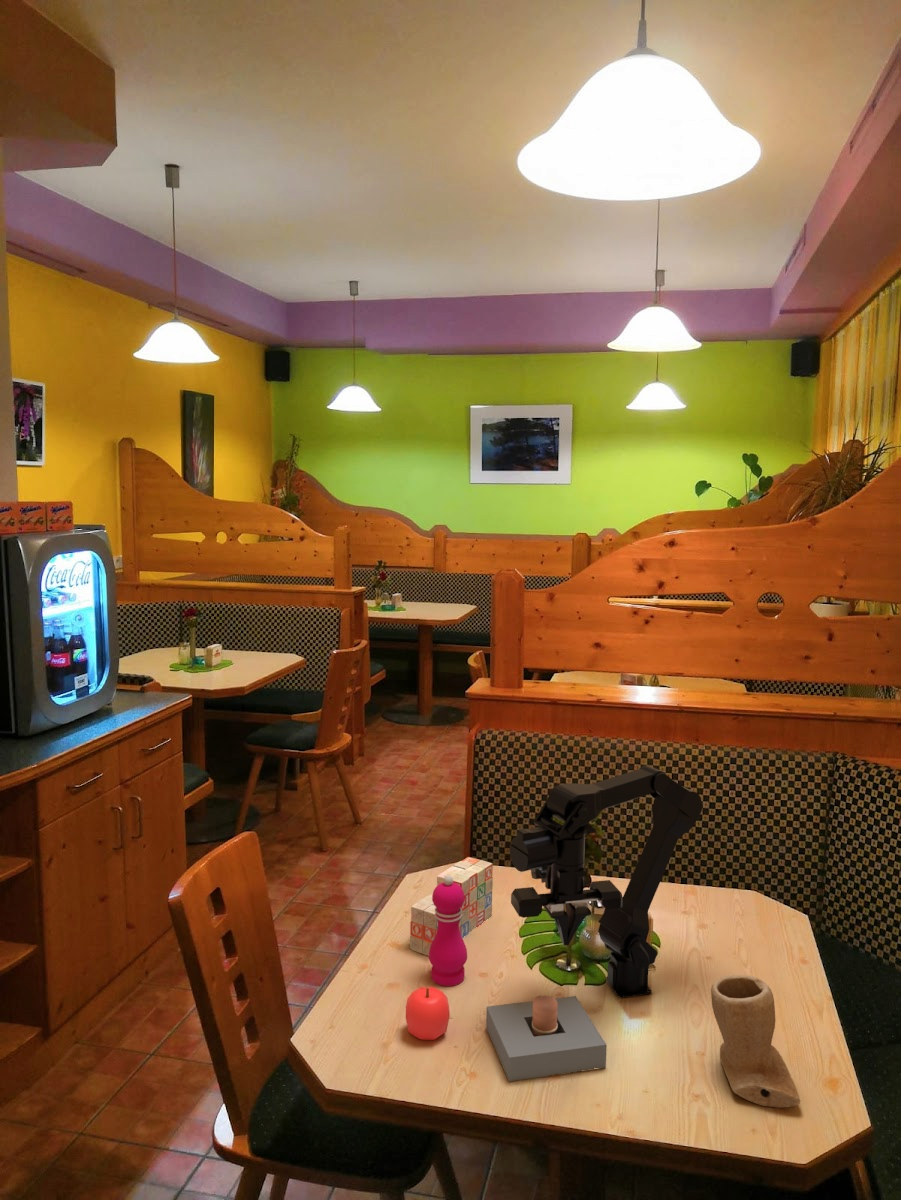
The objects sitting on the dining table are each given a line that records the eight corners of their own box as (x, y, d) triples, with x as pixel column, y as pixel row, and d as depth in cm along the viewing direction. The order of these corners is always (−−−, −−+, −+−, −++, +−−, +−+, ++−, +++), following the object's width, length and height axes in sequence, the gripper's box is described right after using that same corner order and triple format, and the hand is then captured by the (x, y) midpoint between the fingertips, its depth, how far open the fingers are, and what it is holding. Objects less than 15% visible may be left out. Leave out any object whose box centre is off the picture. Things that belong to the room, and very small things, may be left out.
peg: (552, 1038, 151) (553, 993, 150) (560, 1054, 147) (561, 1008, 146) (528, 1041, 150) (529, 996, 149) (535, 1057, 146) (536, 1011, 145)
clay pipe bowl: (702, 1046, 149) (706, 960, 147) (776, 1051, 148) (781, 966, 146) (718, 1108, 134) (723, 1014, 132) (801, 1115, 133) (807, 1020, 131)
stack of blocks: (435, 959, 176) (435, 899, 174) (409, 950, 179) (409, 891, 178) (492, 916, 193) (493, 862, 192) (467, 909, 197) (468, 855, 195)
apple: (441, 1051, 147) (441, 1005, 146) (396, 1041, 150) (396, 996, 149) (457, 1024, 155) (457, 980, 153) (414, 1014, 157) (414, 971, 156)
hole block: (575, 1017, 157) (575, 995, 156) (605, 1067, 143) (606, 1044, 143) (486, 1028, 153) (486, 1006, 153) (509, 1081, 140) (509, 1057, 139)
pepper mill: (463, 990, 165) (464, 886, 162) (424, 985, 166) (425, 882, 164) (470, 969, 172) (471, 869, 169) (433, 965, 173) (433, 866, 171)
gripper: (600, 837, 166) (598, 917, 168) (503, 845, 162) (501, 927, 164) (625, 862, 155) (622, 947, 157) (521, 871, 151) (519, 958, 153)
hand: (565, 944), depth 158 cm, fingers closed
